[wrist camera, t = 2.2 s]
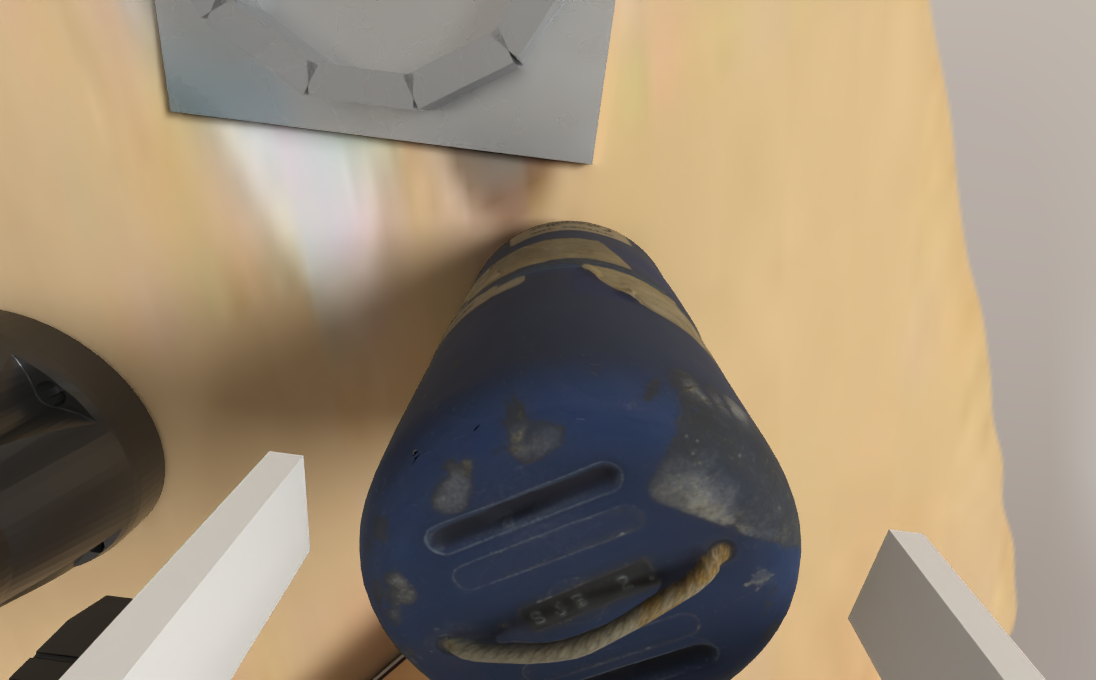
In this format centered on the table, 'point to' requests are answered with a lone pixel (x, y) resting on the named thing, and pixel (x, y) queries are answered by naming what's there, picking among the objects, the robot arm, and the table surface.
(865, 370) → the table surface
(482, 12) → the flange
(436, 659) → the canister
